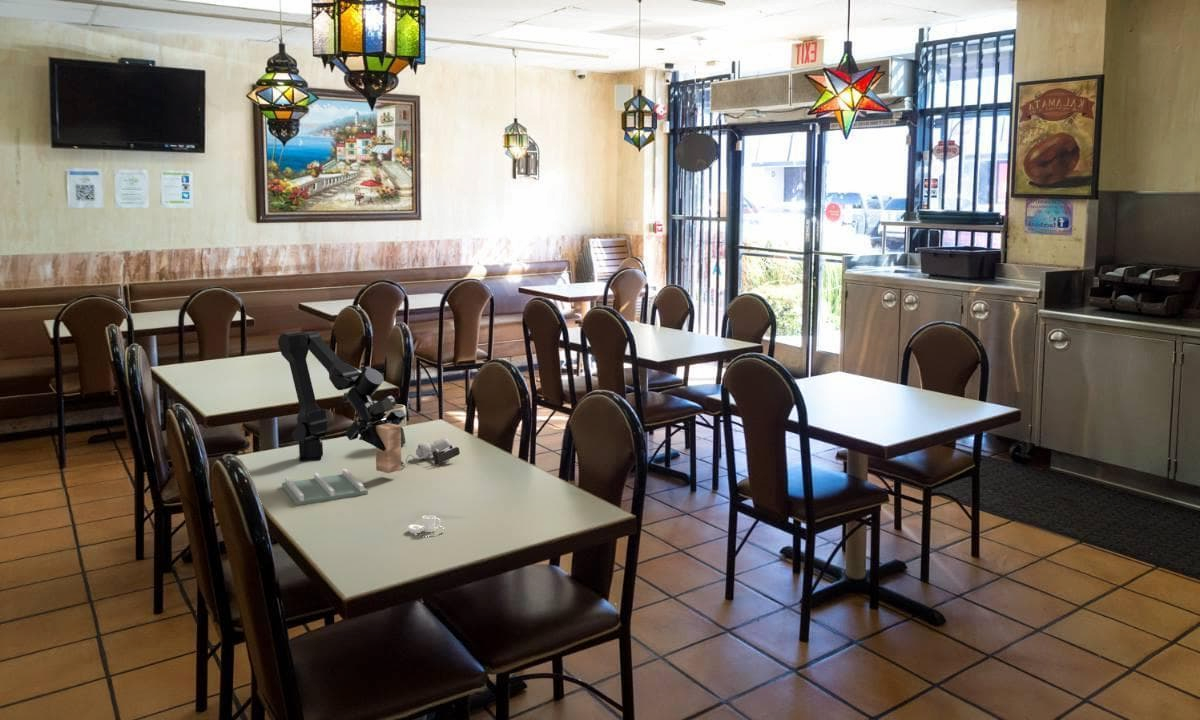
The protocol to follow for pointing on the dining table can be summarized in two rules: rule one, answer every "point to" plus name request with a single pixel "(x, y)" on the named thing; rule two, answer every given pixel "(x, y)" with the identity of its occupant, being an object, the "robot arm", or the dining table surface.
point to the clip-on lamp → (436, 451)
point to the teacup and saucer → (425, 525)
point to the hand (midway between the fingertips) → (391, 448)
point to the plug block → (389, 448)
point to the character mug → (403, 423)
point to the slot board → (323, 488)
